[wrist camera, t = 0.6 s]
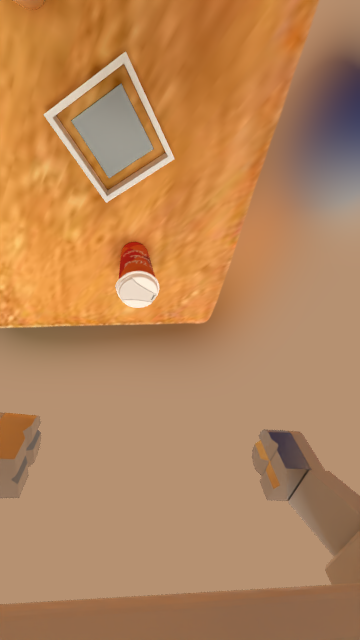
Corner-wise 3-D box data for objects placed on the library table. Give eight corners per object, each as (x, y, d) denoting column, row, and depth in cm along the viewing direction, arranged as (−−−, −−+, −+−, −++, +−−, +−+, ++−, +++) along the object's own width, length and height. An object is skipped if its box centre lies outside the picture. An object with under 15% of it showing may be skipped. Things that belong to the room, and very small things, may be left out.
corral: (47, 112, 38) (43, 114, 36) (125, 52, 35) (125, 51, 33) (106, 196, 47) (106, 202, 45) (171, 154, 44) (174, 158, 42)
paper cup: (158, 245, 55) (167, 283, 45) (143, 273, 59) (149, 314, 50) (123, 230, 52) (124, 268, 42) (110, 262, 56) (109, 303, 46)
